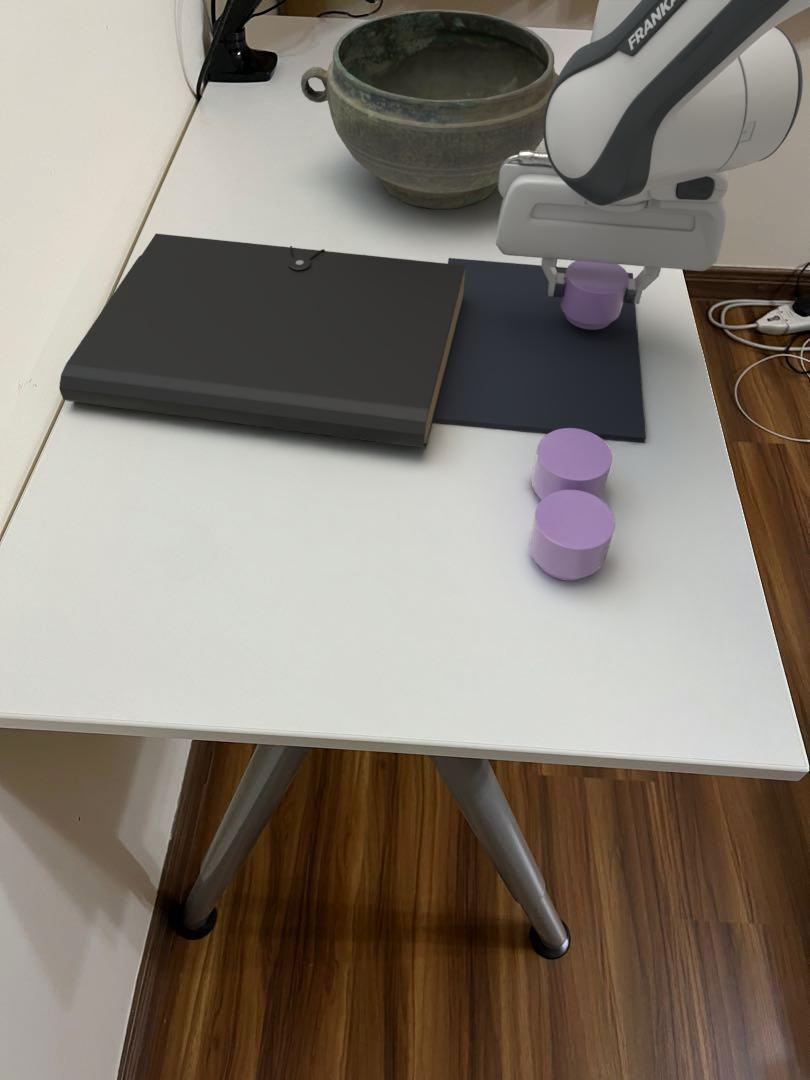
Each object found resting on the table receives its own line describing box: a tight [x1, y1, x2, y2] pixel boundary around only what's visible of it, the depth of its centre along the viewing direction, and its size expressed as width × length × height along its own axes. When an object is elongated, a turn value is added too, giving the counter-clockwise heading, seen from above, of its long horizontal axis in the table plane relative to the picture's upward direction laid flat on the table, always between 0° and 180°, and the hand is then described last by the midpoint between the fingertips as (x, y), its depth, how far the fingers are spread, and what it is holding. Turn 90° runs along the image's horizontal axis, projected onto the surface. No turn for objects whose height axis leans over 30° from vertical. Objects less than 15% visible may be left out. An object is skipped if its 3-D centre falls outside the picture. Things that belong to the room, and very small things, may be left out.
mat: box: [432, 257, 647, 443], centre depth 84 cm, size 20×26×1 cm
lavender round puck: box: [560, 261, 629, 330], centre depth 83 cm, size 6×6×5 cm
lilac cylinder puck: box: [528, 490, 616, 581], centre depth 65 cm, size 6×6×5 cm
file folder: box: [59, 233, 466, 449], centre depth 81 cm, size 33×4×24 cm
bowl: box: [300, 8, 559, 210], centre depth 99 cm, size 32×26×15 cm
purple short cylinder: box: [531, 428, 613, 501], centre depth 70 cm, size 6×6×5 cm
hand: (593, 296), depth 83 cm, fingers closed on lavender round puck, 6 cm apart
